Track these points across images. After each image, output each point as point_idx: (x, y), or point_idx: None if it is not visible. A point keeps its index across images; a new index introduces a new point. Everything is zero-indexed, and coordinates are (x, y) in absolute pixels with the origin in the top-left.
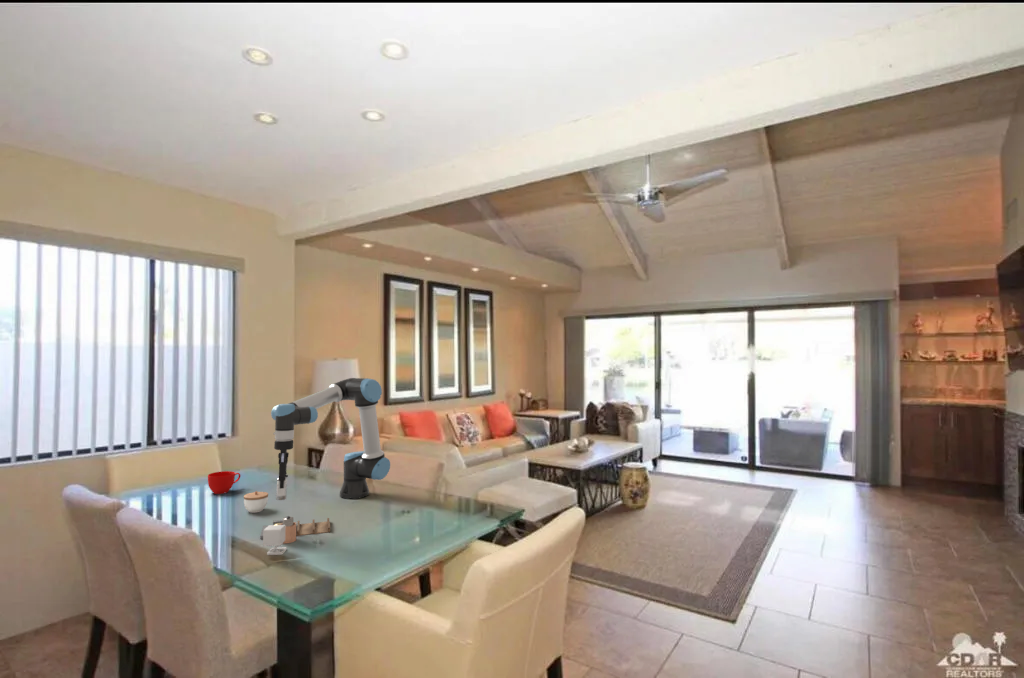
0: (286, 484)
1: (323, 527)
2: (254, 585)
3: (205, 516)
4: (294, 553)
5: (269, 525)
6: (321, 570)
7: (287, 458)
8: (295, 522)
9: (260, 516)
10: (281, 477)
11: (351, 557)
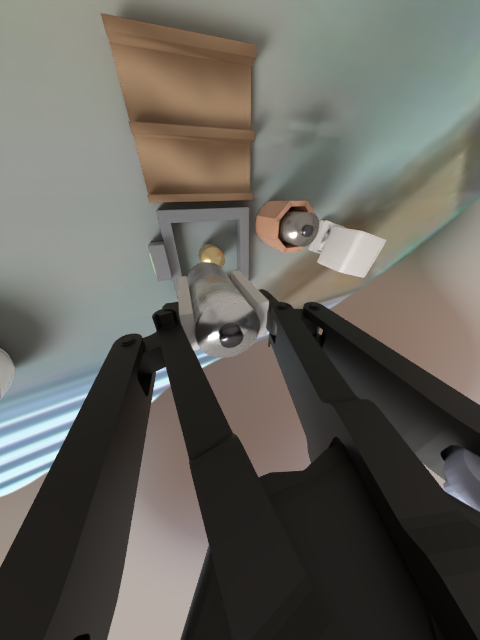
0: (228, 286)
1: (198, 83)
2: (408, 253)
3: (72, 420)
4: (343, 200)
5: (346, 271)
6: (448, 133)
7: (397, 509)
8: (287, 204)
9: (49, 329)
10: (318, 329)
11: (458, 13)
